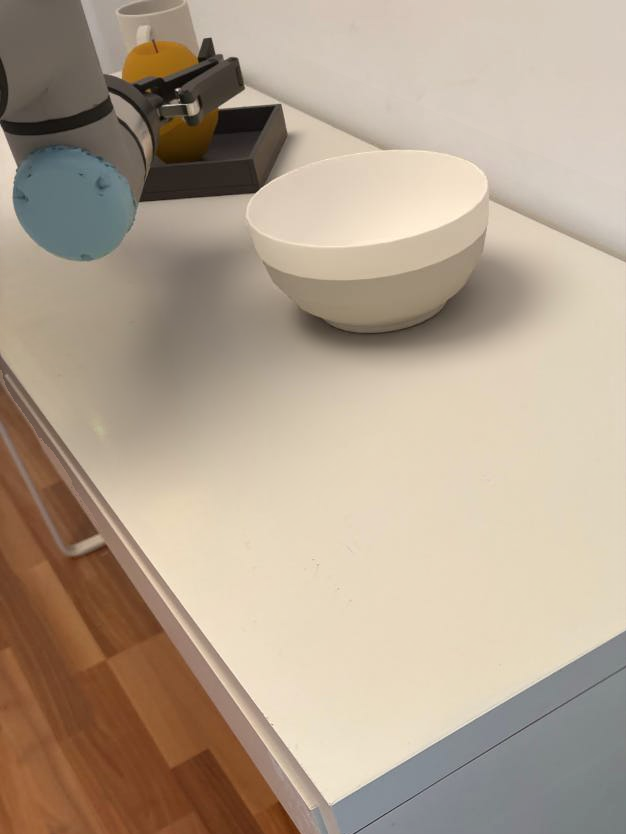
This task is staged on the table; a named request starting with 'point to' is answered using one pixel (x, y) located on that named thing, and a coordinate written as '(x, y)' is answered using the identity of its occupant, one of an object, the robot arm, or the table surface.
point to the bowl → (372, 235)
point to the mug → (157, 23)
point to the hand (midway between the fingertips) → (139, 62)
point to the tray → (224, 157)
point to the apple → (174, 136)
